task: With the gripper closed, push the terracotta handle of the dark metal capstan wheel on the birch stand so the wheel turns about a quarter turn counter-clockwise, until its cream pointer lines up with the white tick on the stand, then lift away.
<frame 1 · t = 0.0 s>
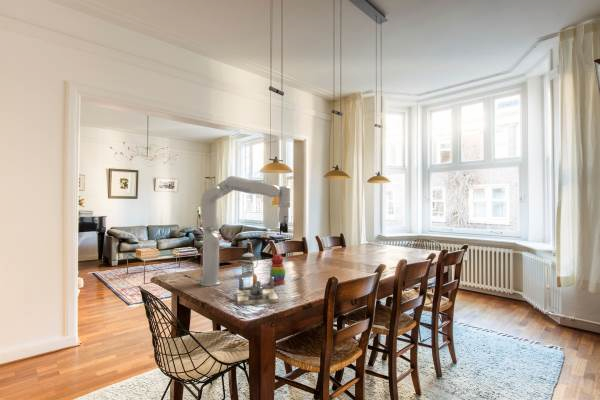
hand: (283, 231, 206), 31 cm above the table, tool pointing down, fingers open, 9 cm apart
stand: (256, 297, 168), on the table
capstan: (256, 285, 168), point 6 cm above the table, hinge at 0.0°
stacking bear: (276, 283, 199), on the table
french press: (249, 275, 218), on the table
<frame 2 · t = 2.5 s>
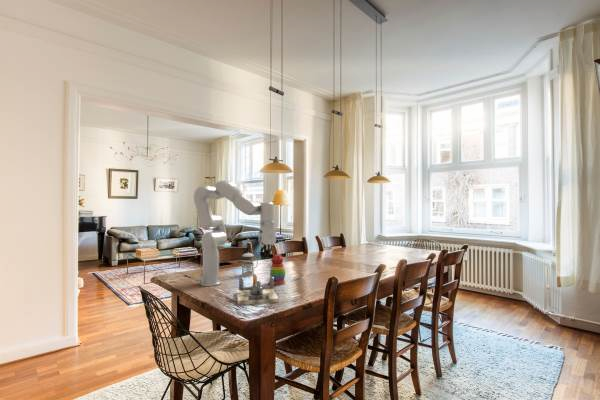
hand: (266, 256, 180), 20 cm above the table, tool pointing down, fingers closed
nothing on the table moved.
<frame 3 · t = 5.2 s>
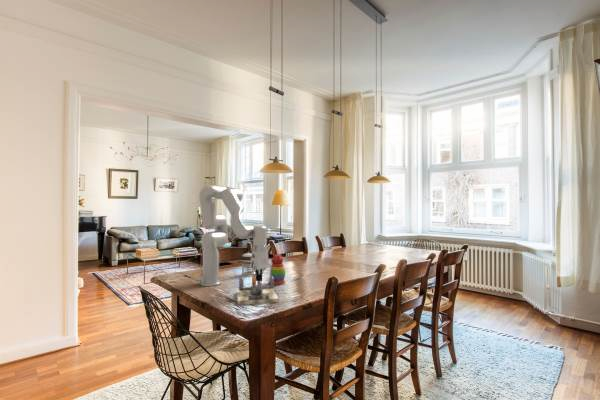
hand: (259, 280, 178), 6 cm above the table, tool pointing down, fingers closed
capstan: (256, 285, 168), point 6 cm above the table, hinge at 3.5°, touching gripper
everything else where it was.
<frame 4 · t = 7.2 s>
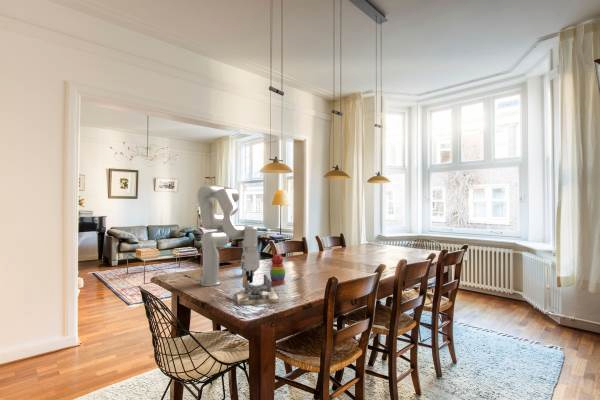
hand: (249, 282, 175), 6 cm above the table, tool pointing down, fingers closed
capstan: (256, 285, 168), point 6 cm above the table, hinge at 45.7°, touching gripper
everything else where it was.
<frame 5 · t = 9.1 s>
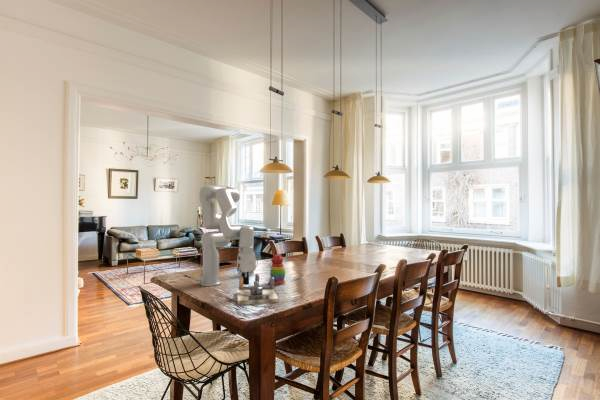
hand: (245, 284, 170), 6 cm above the table, tool pointing down, fingers closed
capstan: (256, 285, 168), point 6 cm above the table, hinge at 81.2°
everything else where it was.
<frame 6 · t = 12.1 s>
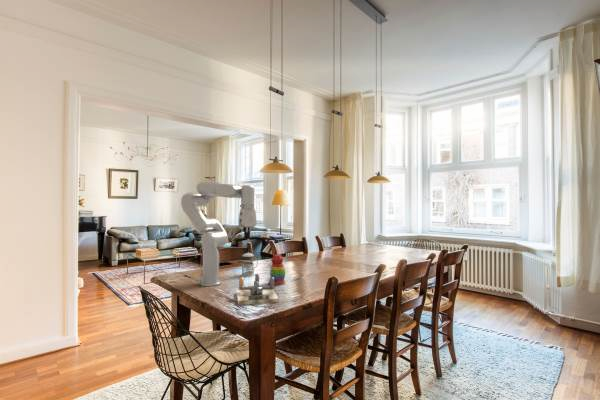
hand: (246, 238, 182), 29 cm above the table, tool pointing down, fingers closed
nothing on the table moved.
at the end: capstan at +81° (first picture: +0°); capstan touching nothing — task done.
